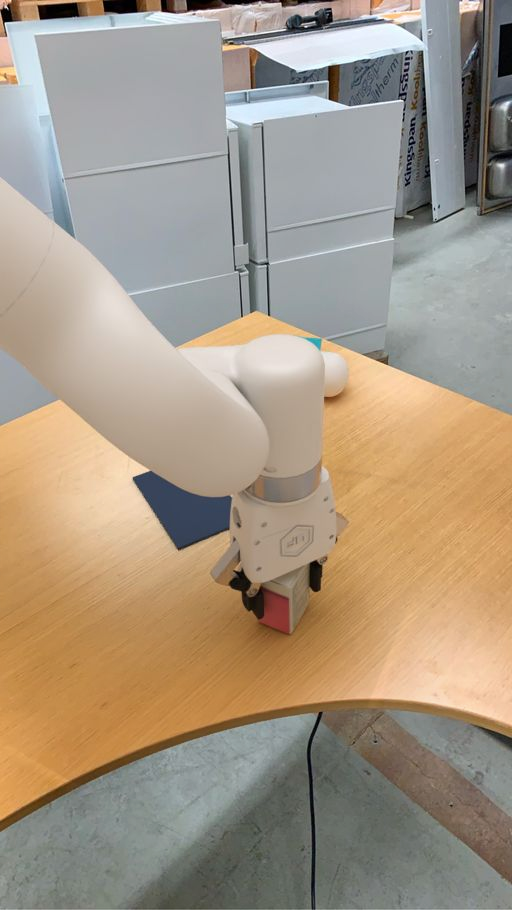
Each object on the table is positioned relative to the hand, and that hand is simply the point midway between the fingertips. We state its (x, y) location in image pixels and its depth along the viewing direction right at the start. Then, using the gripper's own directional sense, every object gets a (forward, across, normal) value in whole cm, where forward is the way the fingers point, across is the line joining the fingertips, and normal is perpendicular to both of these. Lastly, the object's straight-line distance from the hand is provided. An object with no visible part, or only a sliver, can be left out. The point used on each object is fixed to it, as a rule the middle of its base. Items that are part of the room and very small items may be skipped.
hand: (282, 595), depth 71 cm
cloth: (+3, -1, +23) cm, 23 cm away
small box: (+3, 0, 0) cm, 3 cm away
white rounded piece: (+3, +29, +38) cm, 48 cm away
